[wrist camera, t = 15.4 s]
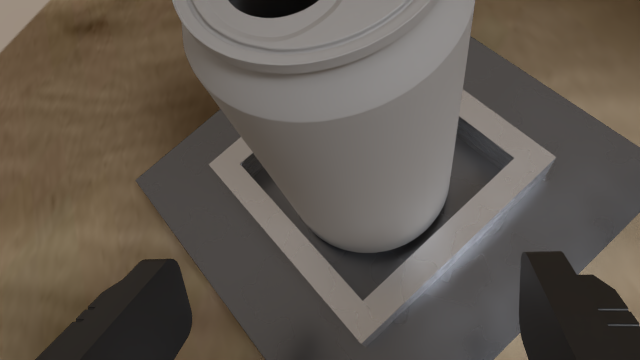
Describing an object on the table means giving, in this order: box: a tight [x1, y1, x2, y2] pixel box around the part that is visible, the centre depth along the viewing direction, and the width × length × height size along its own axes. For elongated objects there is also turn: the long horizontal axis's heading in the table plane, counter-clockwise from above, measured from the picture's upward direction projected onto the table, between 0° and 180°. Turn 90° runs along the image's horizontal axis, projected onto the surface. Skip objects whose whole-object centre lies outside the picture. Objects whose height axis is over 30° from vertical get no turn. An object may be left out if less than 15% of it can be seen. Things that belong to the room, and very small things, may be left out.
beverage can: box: [172, 0, 475, 253], centre depth 14 cm, size 6×6×12 cm
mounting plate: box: [136, 36, 640, 360], centre depth 20 cm, size 16×16×4 cm
